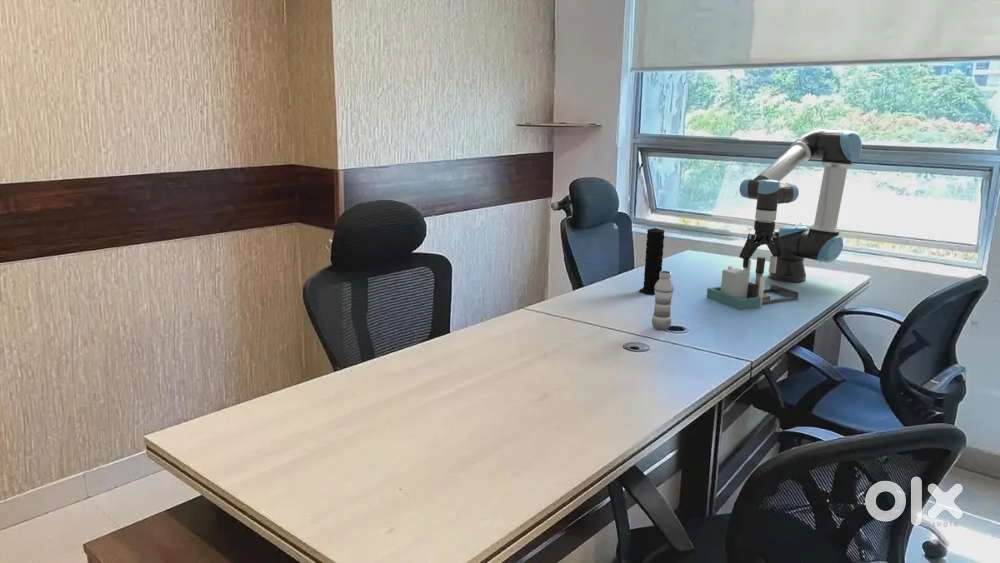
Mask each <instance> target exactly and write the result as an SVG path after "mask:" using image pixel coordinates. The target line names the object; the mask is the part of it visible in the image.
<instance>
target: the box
mask: <svg viewBox="0 0 1000 563" xmlns="http://www.w3.org/2000/svg"><path fill="white" fill-rule="evenodd" d="M727 269H733V266H731V265H728V266H727ZM765 280H766V276H764V275H763V276H761V277H760V286H759V295H758V297H753V298H746V299H739V298H737V297H734V296H731V295H728V294H725V293H723V292H721V286H714V287H707V289H706V299H709V300H711V301H714V302H716V303H718V304H722V305H724V306H726V305H727V307H729V308H733V309H734V308H735V309H734V310H738V311H741V312H742V311H746V310H754V309H760V308H762V307H763V305H762V300H763V294H764V293H763V291H764V289H765Z"/></svg>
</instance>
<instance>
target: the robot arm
mask: <svg viewBox="0 0 1000 563" xmlns="http://www.w3.org/2000/svg"><path fill="white" fill-rule="evenodd" d="M862 142H863V141H862V139H861V137H860V135H859V133H857V132H855V131H852V130H841V129H840V130H839V129H837V130H836V129H816V130H813V131H811V132H808V133H805V134H804V135H802V136H800V137H799V138H797V139H796V140H795V141H793V142H792V143H791V144H790V146H789V149H788V150H787V151H785V152H784V153H783V154H782V155H781V156H779V157H778V158H777V159H776V160H774V161H773V162H772V163H771V164H770V165H769V166H768V167H766V168H765V169H764V170H762V171H761V172H760V173H759V174H758V175H757V176H755V177H754V178H753V179H752V178H749V179H748V178H747V179H744V180H743V181H741V182H740V185H739V190H738V191H739V194H740V196H741V197H743V198H746V199H750V200H756V207H755V215H754V219H755V221H754V225H753V229H754V234H753V233H748V234H747V237H746V238H747V239H746V241H745V242H744V245H743V247H742V250H741V252H740V254H739V258H740V259H742V268H743V269H742V270H744V271H747V272H750V273H749V276H750V274H751V265H752V264H751V263H752V260H751V257H752V256H753V255H754V253H755V252H756V251H757V250H758V248H759V247H760V246H764V245H766V246H767V248H768V249H769V252H770V254H771V255H770V257H769V259H770V260H769V267H768V273H769V274H768V276H769V278H770V279H772V280H776V281H779V282H780V281H782V282H789V283H801V282H804V281H806V279H807V273H806V269H805V264H804V261H805V259H808V260H813V261H818V262H819V263H827V264H828V263H832V262H834V261H836V260H837V258H838V257H839V256H840V254H841V253H842V251H843V246H844V239H843V237H841V236H840V230H839V229H838V227H837V226H838V220H839V214H840V210H841V204H842V199H843V194H844V188H845V184H846V178H847V173H848V169H849V168H850V167H852V166H853V164H854V163H853V162H855V161H858V159H859V158H860V156H861V154H862V149H863V144H862ZM814 158H820V159H821V164H822V166H823V167H824V169H823V175H822V178H821V179H822V180H821V185H820V191H819V196H818V202H817V206H816V212H815V218H814V224H812V225H811V226H810V227H808V226H805V225H791V226H790V225H789V226H782V227H780V228H779V230H778V231H775V229H776V222H775V221H776V220H777V213H778V205H780V204H789V203H793V202H795V201H796V200H797V199H798V197H799V195H800V193H799V187H798V186H797V185H796V184H795V183H791V182H789V183H788V182H786V183H781V181H782V180H783V179H784V178H786V176H788V175H789V174H790V173H791V172H792V171H793V170H795V169H796V168H797V167H798V166H799V165H800V164H802V163H806V162H808V161H809V160H810V159H814Z"/></svg>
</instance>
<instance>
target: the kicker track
mask: <svg viewBox="0 0 1000 563" xmlns="http://www.w3.org/2000/svg"><path fill="white" fill-rule="evenodd" d="M767 292H768V293H774V294H777V295H780V296H783V297H779V298H773V299H771V298H770V300H764V301H762V306H763V305H770V304H776V303H777V304H778V303H782V302H783V303H784V302H790V301H796V300H799V294H800V292H799V291H796V290H793V289H791V288H790V289H789V288H787V287H785V286H780V285H777V284H775V283H770V285H769V288H764V291H763V294H767Z"/></svg>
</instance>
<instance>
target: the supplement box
mask: <svg viewBox="0 0 1000 563" xmlns="http://www.w3.org/2000/svg"><path fill="white" fill-rule="evenodd" d="M749 273H750V274H751V271H750V272H747V271H744V270H743V269H740V268H737V267H736V268H735V267H734V268H732V269H728V268H727V269H722V272H721V274H722V275H721V284H720V287H721V292H723V293H725V294H728V295H731V296H734V297H737V298H739V299H746V298H747V293H748V283H749V282H750V275H749Z"/></svg>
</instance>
